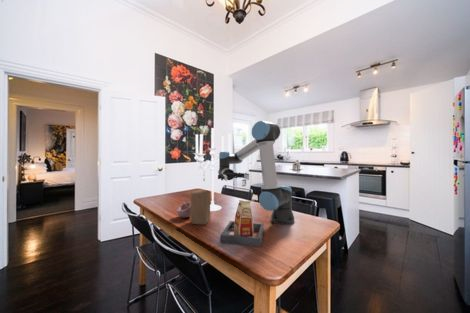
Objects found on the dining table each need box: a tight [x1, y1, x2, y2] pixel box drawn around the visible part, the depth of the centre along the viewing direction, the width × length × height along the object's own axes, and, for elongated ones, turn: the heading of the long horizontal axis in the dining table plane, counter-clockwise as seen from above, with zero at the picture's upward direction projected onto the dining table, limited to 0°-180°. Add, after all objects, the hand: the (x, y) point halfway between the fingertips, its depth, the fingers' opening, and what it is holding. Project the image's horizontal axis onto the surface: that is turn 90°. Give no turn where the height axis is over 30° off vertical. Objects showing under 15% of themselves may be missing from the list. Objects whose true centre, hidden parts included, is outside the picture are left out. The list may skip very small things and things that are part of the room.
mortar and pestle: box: [175, 200, 191, 219], centre depth 134 cm, size 12×12×12 cm
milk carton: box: [233, 199, 255, 237], centre depth 103 cm, size 9×9×20 cm
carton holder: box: [220, 220, 265, 248], centre depth 104 cm, size 20×20×4 cm
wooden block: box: [190, 189, 211, 226], centre depth 125 cm, size 10×10×20 cm
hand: (237, 177), depth 113 cm, fingers open, 13 cm apart
